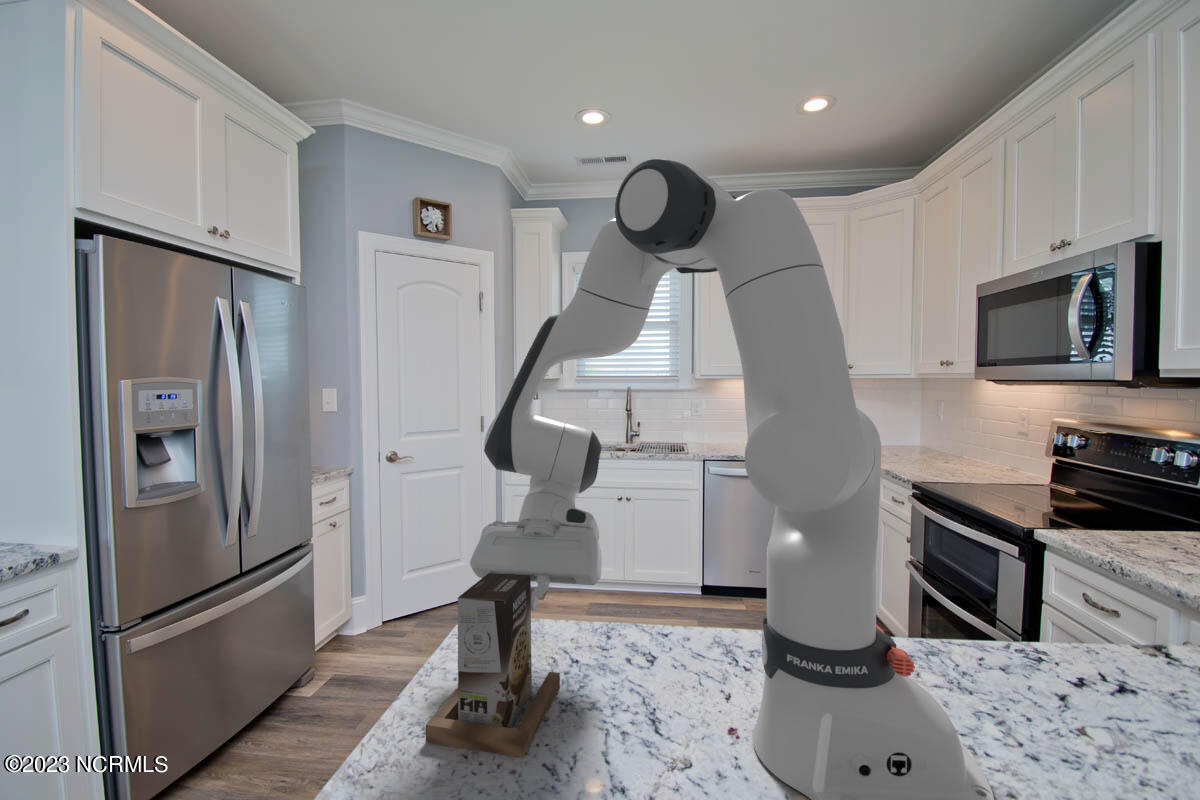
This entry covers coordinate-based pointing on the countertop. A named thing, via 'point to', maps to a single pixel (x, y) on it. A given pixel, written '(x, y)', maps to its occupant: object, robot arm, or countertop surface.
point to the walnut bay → (490, 737)
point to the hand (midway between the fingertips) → (524, 608)
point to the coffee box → (494, 649)
